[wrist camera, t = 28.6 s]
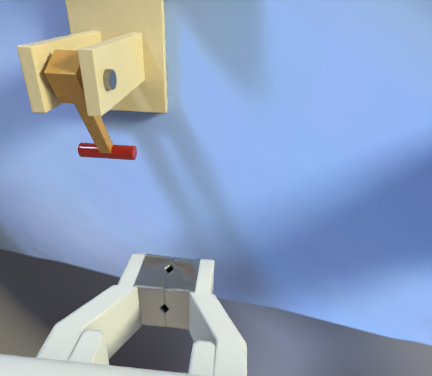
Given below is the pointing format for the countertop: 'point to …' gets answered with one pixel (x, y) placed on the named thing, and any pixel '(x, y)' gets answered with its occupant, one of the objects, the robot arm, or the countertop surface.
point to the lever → (82, 106)
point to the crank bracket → (106, 57)
